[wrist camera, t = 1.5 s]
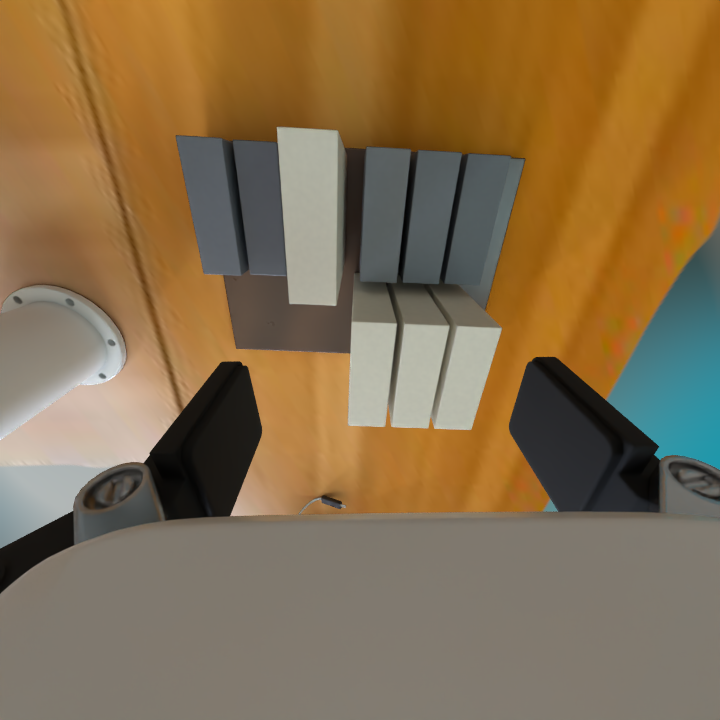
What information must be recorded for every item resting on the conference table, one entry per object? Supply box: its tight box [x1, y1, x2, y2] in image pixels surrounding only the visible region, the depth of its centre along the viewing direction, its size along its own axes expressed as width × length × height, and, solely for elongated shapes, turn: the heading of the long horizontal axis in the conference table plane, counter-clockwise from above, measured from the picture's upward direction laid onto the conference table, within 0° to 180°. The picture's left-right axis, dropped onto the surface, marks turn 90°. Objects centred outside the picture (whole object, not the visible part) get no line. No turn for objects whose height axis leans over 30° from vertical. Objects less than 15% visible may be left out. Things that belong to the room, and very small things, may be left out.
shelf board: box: [223, 141, 525, 353], centre depth 31 cm, size 28×20×2 cm
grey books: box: [176, 135, 511, 285], centre depth 25 cm, size 22×9×7 cm, turn 87°
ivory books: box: [348, 273, 502, 430], centre depth 28 cm, size 10×9×13 cm
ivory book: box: [277, 127, 347, 306], centre depth 23 cm, size 3×9×13 cm, turn 177°
